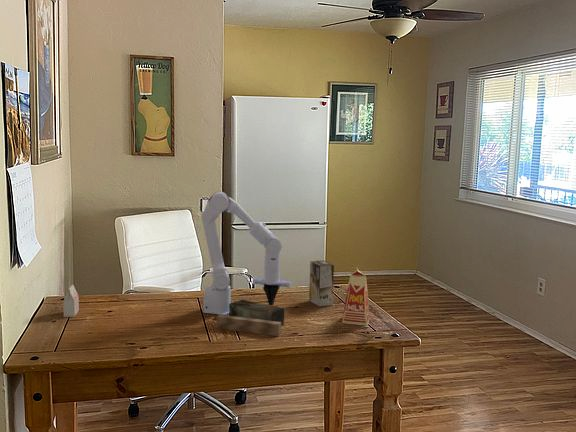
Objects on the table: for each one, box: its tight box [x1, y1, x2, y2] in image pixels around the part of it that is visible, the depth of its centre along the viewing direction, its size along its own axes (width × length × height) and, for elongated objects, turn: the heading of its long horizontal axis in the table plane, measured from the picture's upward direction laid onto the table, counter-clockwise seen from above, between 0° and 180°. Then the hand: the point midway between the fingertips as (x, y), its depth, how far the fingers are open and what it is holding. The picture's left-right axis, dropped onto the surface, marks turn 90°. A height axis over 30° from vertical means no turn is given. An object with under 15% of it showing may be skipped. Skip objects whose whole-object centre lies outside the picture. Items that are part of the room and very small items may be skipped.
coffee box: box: [308, 260, 335, 307], centre depth 230 cm, size 9×6×16 cm
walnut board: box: [216, 314, 282, 337], centre depth 195 cm, size 22×2×4 cm, turn 73°
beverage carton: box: [228, 299, 286, 326], centre depth 205 cm, size 8×19×7 cm, turn 57°
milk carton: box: [341, 267, 370, 327], centre depth 208 cm, size 9×9×20 cm
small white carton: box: [62, 284, 80, 318], centre depth 208 cm, size 4×7×10 cm, turn 8°
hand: (271, 304), depth 218 cm, fingers closed
